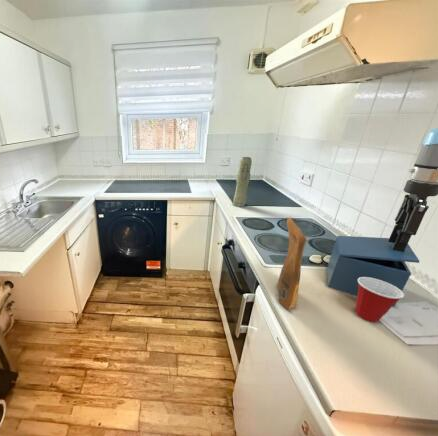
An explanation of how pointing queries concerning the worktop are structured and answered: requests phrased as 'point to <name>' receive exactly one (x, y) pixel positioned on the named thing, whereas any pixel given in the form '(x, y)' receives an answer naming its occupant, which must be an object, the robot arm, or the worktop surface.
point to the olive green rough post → (242, 182)
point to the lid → (374, 249)
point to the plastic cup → (375, 298)
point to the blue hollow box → (363, 271)
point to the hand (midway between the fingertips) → (395, 246)
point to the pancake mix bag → (291, 267)
